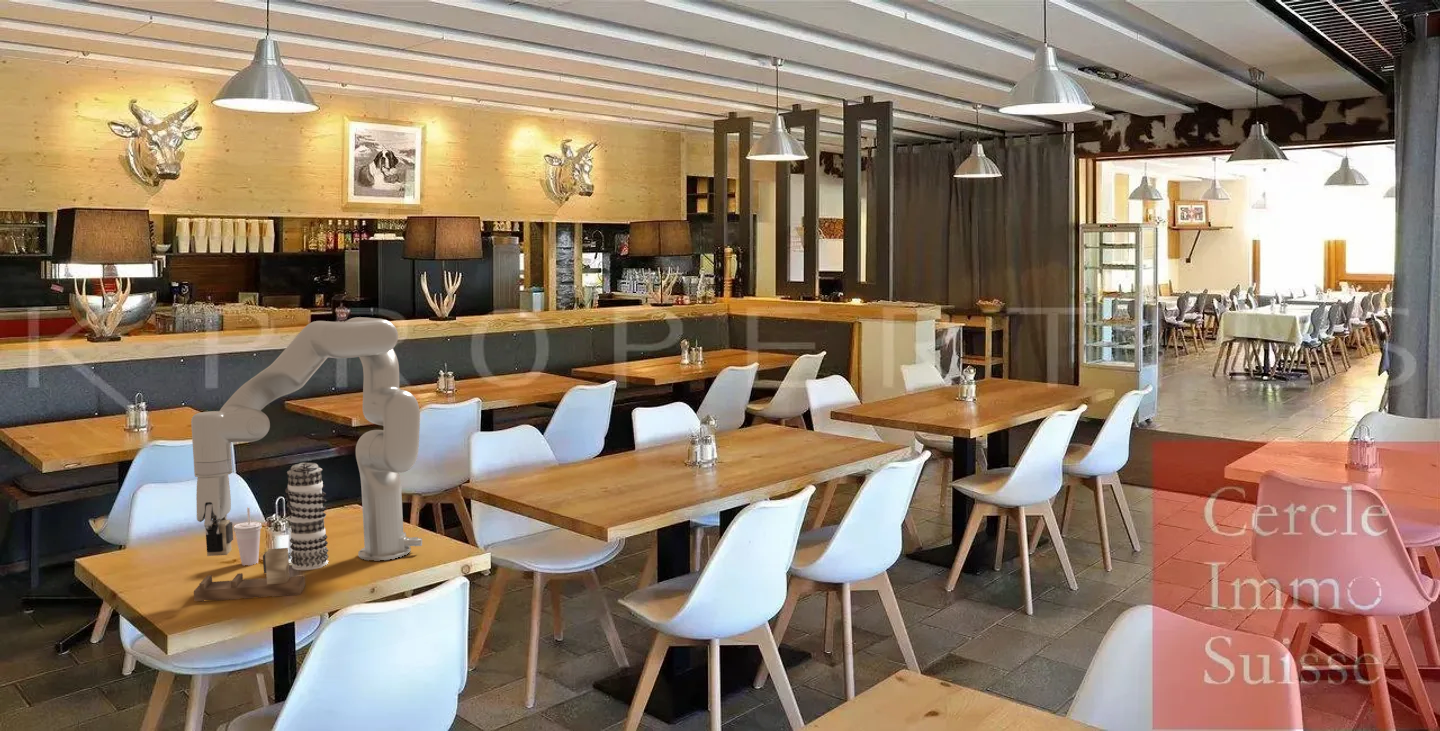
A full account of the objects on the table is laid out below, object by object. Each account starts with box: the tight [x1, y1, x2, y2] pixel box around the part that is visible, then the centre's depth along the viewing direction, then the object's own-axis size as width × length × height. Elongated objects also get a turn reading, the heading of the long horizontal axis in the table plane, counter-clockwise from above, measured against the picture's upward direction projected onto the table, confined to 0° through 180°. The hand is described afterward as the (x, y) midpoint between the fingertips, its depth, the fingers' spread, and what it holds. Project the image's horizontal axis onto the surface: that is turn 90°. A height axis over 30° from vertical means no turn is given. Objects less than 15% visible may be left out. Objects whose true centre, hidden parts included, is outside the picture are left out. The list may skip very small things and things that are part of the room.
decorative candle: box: [284, 462, 329, 571], centre depth 258 cm, size 9×9×25 cm
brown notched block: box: [193, 547, 306, 602], centre depth 238 cm, size 22×6×10 cm, turn 101°
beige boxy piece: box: [206, 519, 234, 557], centre depth 236 cm, size 5×4×7 cm
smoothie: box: [233, 507, 263, 566], centre depth 261 cm, size 6×6×14 cm
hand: (218, 547), depth 236 cm, fingers closed on beige boxy piece, 4 cm apart
